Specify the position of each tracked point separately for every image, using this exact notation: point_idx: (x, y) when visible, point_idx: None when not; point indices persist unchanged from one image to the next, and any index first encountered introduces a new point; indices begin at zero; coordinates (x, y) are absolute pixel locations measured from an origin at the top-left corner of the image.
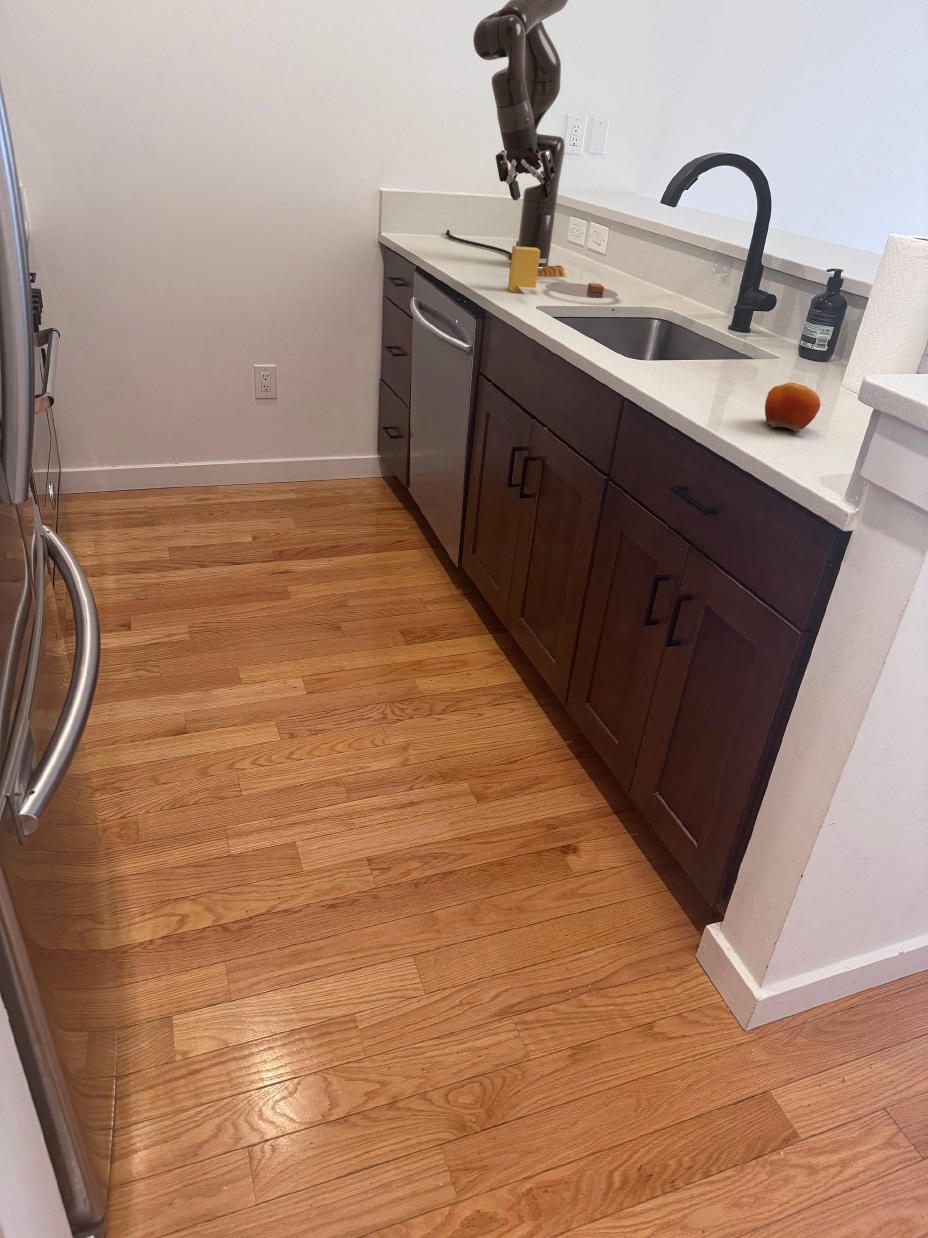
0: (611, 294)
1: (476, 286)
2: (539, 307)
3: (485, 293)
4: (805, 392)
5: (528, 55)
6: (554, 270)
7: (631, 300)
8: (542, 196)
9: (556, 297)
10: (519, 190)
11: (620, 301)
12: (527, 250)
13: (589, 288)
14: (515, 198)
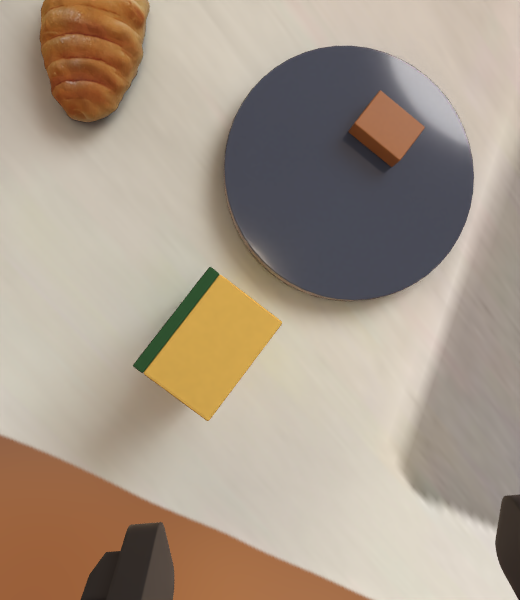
0: (440, 124)
1: (87, 442)
2: (414, 473)
3: (192, 499)
4: None
5: None
6: (122, 39)
7: (452, 49)
8: (517, 595)
9: None
10: (150, 575)
11: None
12: (243, 373)
13: (368, 145)
14: (171, 592)
